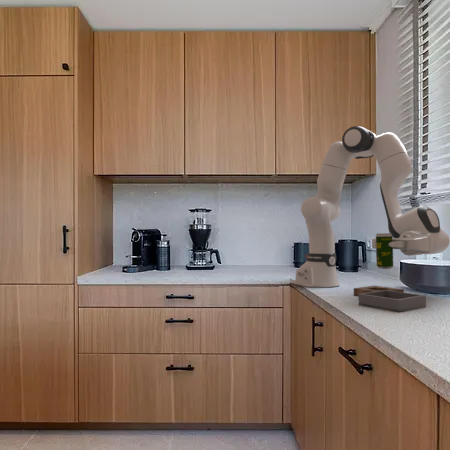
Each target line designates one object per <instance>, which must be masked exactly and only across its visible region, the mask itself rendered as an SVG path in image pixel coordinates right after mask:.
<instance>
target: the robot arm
mask: <svg viewBox="0 0 450 450" xmlns="http://www.w3.org/2000/svg"><path fill="white" fill-rule="evenodd" d="M373 157H374V158H375V161H376V162H377V164H378V167H379V171H380V182H379V183H380V184H379V189H380V195H381V198H382V202H383V206H384V210H385V214H386V219H387V226H388V233H392V234H391V235H392V237H393V242H389V243H388V244H389V245H388V246H389V247H393V250H400V252H401V253H402V254H403V255H405V256H408V257H410V256H421V255H426V256H427V255H435V254H440V253H442V252H444V251H446V250H447V248H449V246H450V237H449V234H447V233H446V231H444V230H443V229H442V228H441V224H440V223H441V221H440V218H439V216H438V214H437V212H436V211H435V210H433V209H432V208H431V207H429V206H427V205H419V206H417V207H415V208H413V209H411V210H409V211H407V212H405V213H403V212H402V208H401V206H400V202H399V198H398V194H399V190H400V188H401V187H402V185H403V183H404V182H405V181H406V180H407V178H408V177H409V176H410V174H411V171H412V161H411V157H410V156H409V154H408V152H407V150H406V148H405V145H403V143H402V141H401V140H400V138H399V137H398V136H397V135H396V134H395V133H393V132H385V133H384V132H383V133H381V134H379V135H377V134H375V133H374V132H373V131H372V130H369V129H367V128H365V127H363V126H359V125H357V126H356V125H355V126H351V127H348V129H346V130H345V131H344V133H343V134H342V138H341V140H339V141H335V142H333V143H330V146H329V148H328V149H327V152H326V153H325V155H324V158H323V160H322V164H321V167H320V170H319V172H318V173H319V174H318V177H317V179H316V180H317V181H316V185H317V194H316V196H311V197H308V198H306V199H305V200H304V201H303V202H302V204H301V206H300V209H301V210H300V212H301V215H302V216H303V218H304V220H305V224H306V229H307V234H308V249H309V250H308V254H304V257H305V258H306V260H305V262H304V263H303V264H302V265H301V266H300V267H299V268H298V269H297V270H296V272H295V279H293V280H290V283H291V284H294V285H296V286H297V285H298V286H302V287H309V288H316V287H317V288H331V287H333V288H334V287H338V286H340V283H339V280H338V275H337V274H338V273H337V267H336V263H337V253H336V249H335V248H336V247H335V246H336V245H335V244H336V243H335V242H336V241H335V240H336V238H335V234H334V232H333V229H332V228H333V227H332V224H331V222H333V221H335V220H336V219H337V218H338V217H339V216H340V213H341V207H340V203H341V196H342V190H343V185H344V183H345V180H346V176H347V172H348V171H349V166H350V163H351V162H352V160H353V159H357V160H358V159H369V158H373ZM371 244H372V245H371V246H372V249H376V237H375V238H373V239H372V240H371Z"/></svg>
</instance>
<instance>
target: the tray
mask: <svg viewBox="0 0 450 450" xmlns="http://www.w3.org/2000/svg"><path fill="white" fill-rule="evenodd" d="M358 305H359V306H363V307H369V308H374V309H380V310H385V311H392V312H394V313H395V312H396V313H402V312H408V311H412V310H418V309H421V308H426V307H427V295H424V294H419V293H412V292H405V291H404V292H397V291H389V290H381V291H375V292H368V293H361V294H359V296H358Z"/></svg>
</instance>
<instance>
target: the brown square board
mask: <svg viewBox="0 0 450 450" xmlns="http://www.w3.org/2000/svg"><path fill="white" fill-rule="evenodd" d="M381 290H389V291H397V292H404V293H405V289H403V288H395V287H390V286H389V287H387V286H383V285H381V286H379V285H369V286H362V287H361V286H360V287H355V288H354V287H353V296H356V297H359V294H361V293H368V292H375V291H381Z"/></svg>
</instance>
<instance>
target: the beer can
mask: <svg viewBox="0 0 450 450" xmlns="http://www.w3.org/2000/svg"><path fill="white" fill-rule="evenodd" d="M391 234H392V233H389V232H388V233H387V232H386V233H385V232H384V233H376V235H375V238H376V248H375V255H376V257H375V258H376V268H377V269H382V270H388V269H389V270H390V269H394V249H393V247H389V246H388V245H389V244H388V243H389V242H393V237H392V235H391Z"/></svg>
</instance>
